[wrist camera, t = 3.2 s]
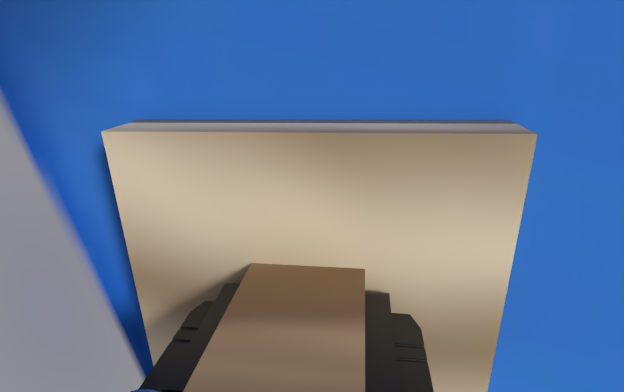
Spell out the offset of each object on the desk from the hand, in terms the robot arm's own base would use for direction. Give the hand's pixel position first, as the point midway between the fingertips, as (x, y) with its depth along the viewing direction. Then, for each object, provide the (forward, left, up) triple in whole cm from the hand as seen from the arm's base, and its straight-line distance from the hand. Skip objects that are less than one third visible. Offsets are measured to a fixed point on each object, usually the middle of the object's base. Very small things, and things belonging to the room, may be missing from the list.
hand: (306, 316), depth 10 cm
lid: (0, 0, -1) cm, 1 cm away
